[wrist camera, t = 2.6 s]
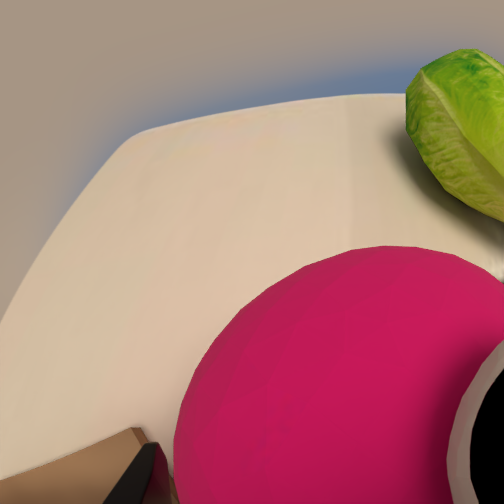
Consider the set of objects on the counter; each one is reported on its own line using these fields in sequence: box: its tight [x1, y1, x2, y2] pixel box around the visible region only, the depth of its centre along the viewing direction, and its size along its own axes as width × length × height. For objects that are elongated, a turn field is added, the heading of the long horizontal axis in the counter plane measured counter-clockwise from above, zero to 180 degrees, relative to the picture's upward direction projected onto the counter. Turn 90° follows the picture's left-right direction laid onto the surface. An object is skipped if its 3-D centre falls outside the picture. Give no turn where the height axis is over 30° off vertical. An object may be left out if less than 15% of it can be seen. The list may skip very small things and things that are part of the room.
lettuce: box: [406, 49, 504, 223], centre depth 23 cm, size 17×20×15 cm
